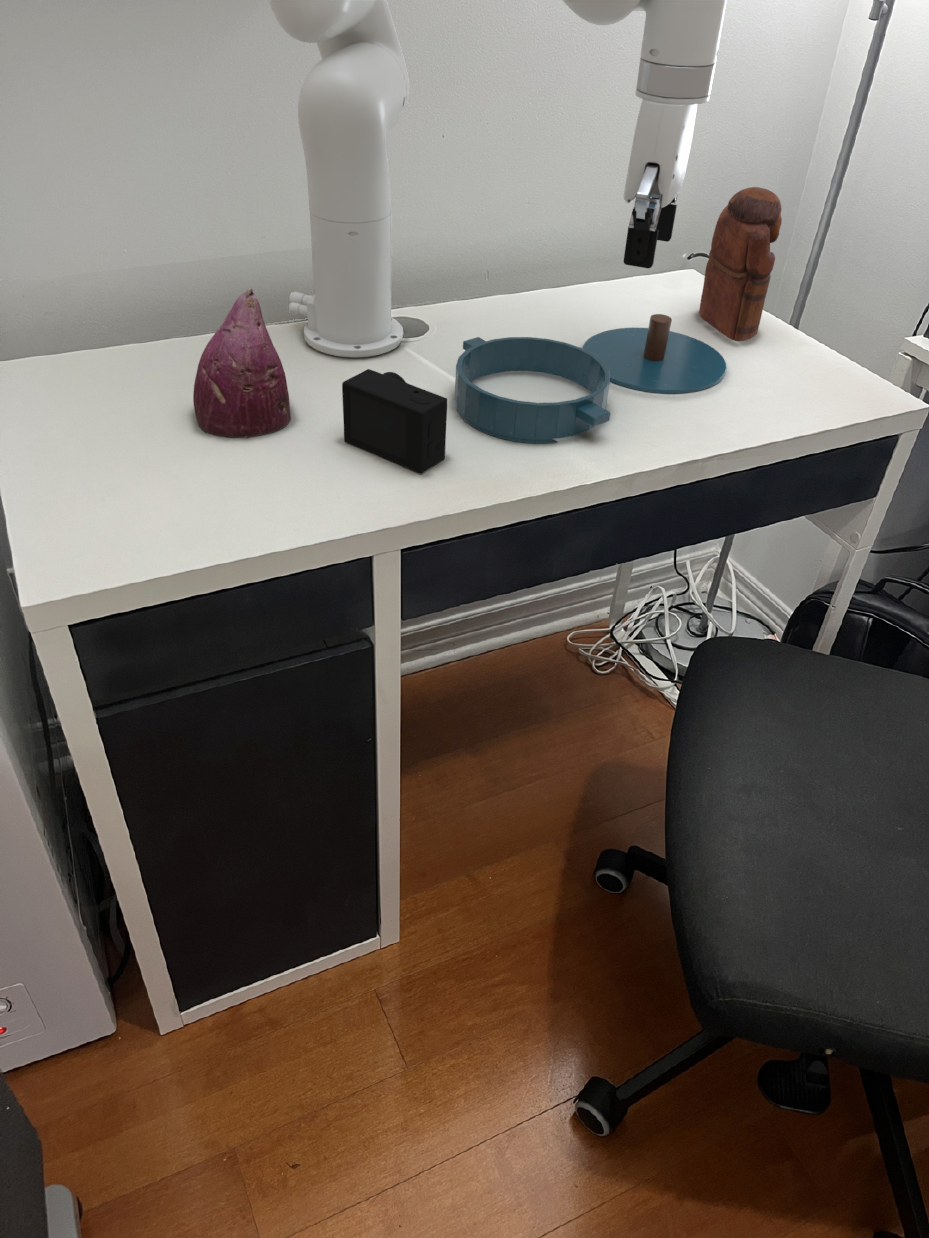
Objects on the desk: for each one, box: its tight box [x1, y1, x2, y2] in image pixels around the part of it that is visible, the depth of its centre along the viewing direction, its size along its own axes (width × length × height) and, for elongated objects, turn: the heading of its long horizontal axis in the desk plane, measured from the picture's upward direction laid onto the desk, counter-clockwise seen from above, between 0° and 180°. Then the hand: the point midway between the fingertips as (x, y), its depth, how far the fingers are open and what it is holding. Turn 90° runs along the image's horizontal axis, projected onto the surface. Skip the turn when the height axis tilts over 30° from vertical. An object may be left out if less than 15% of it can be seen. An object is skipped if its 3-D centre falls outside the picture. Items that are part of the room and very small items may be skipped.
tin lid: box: [581, 313, 727, 394], centre depth 117 cm, size 18×18×6 cm
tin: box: [453, 336, 611, 444], centre depth 107 cm, size 17×23×5 cm
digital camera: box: [341, 368, 448, 475], centre depth 98 cm, size 10×5×7 cm, turn 55°
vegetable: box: [192, 287, 292, 439], centre depth 101 cm, size 10×10×15 cm
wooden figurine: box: [698, 186, 783, 342], centre depth 124 cm, size 12×6×18 cm, turn 19°
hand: (647, 252), depth 107 cm, fingers open, 9 cm apart
